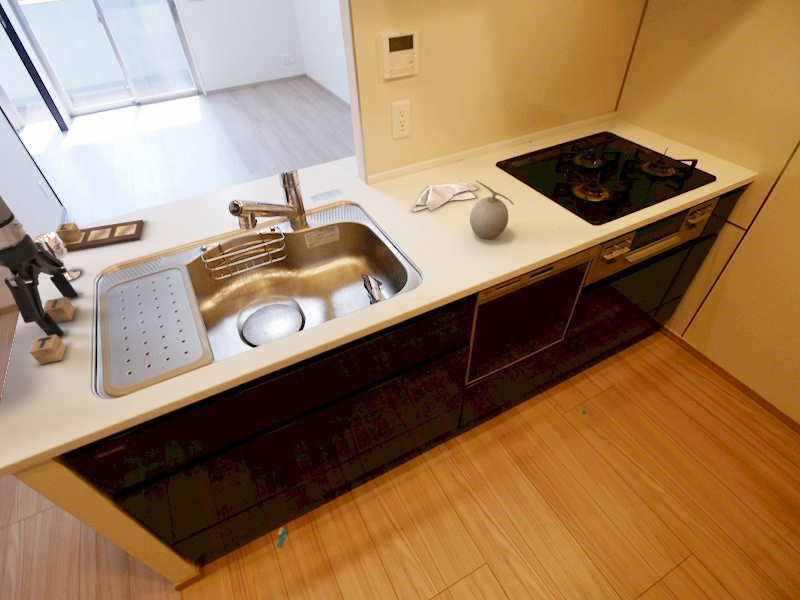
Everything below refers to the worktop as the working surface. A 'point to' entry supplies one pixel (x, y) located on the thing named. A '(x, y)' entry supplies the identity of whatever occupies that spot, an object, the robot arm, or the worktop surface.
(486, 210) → the fruit
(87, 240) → the board
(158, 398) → the worktop surface
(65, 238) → the tile
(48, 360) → the tile
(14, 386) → the worktop surface
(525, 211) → the worktop surface
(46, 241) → the wineglass
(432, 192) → the cloth
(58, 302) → the tile
